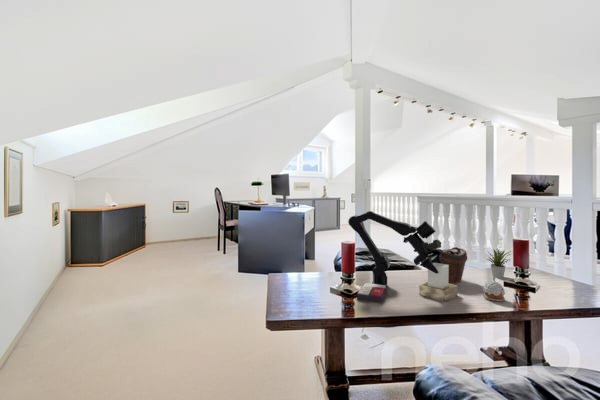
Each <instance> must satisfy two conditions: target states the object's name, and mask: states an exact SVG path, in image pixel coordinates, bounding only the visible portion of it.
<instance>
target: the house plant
mask: <svg viewBox="0 0 600 400" xmlns="http://www.w3.org/2000/svg"><path fill="white" fill-rule="evenodd" d="M495 249H496V250H495ZM495 249H494V248H493V254H492V253H490V252H489V251H488V250H486V252H487V253H488V254H490V256H491V257H490V256H488V258H486V261H488V262H489V261H490V262H491V264H490V269H491V275H492V277H493V265H495V279H496V278H498V279H503V278H504V277H505V271H506V265H505V263H508V261H509V262H511V258H509V259H506V258H507V257H508V256H510V255H511V252H513V251H514V250H510V251H507V252H506V249H504V250H503V251H500V249H498V247H496V248H495ZM505 252H506V253H505ZM513 253H514V252H513Z"/></svg>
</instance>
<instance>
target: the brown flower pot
mask: <svg viewBox="0 0 600 400" xmlns="http://www.w3.org/2000/svg"><path fill="white" fill-rule="evenodd" d="M434 250H436V249H434ZM441 250H442V251H443V253H442V255H441V261H442V263H443V264H446V265H449V272H448V284H459V283H461V282H462V279H463V275H464V270H465V266H466V262H467V261H468V253H467V251H466V250H465V249H464V248H461V247H460V248H459V247H454V246H453V247H451V248H450V249H441ZM431 261H432V260H431Z"/></svg>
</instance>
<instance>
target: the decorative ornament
mask: <svg viewBox="0 0 600 400" xmlns="http://www.w3.org/2000/svg"><path fill="white" fill-rule="evenodd" d="M483 293H484V294H483V298H484V299H487V300H490V301H494V302H502V301H504V302H505V298H506V297H504V295H505V294H506V291H505V288H504V287H503V285H502V284H501V283H500V282H499V281H496V277H495V265H493V276H492V280H490V281H488V282H485V283H484V286H483Z"/></svg>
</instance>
